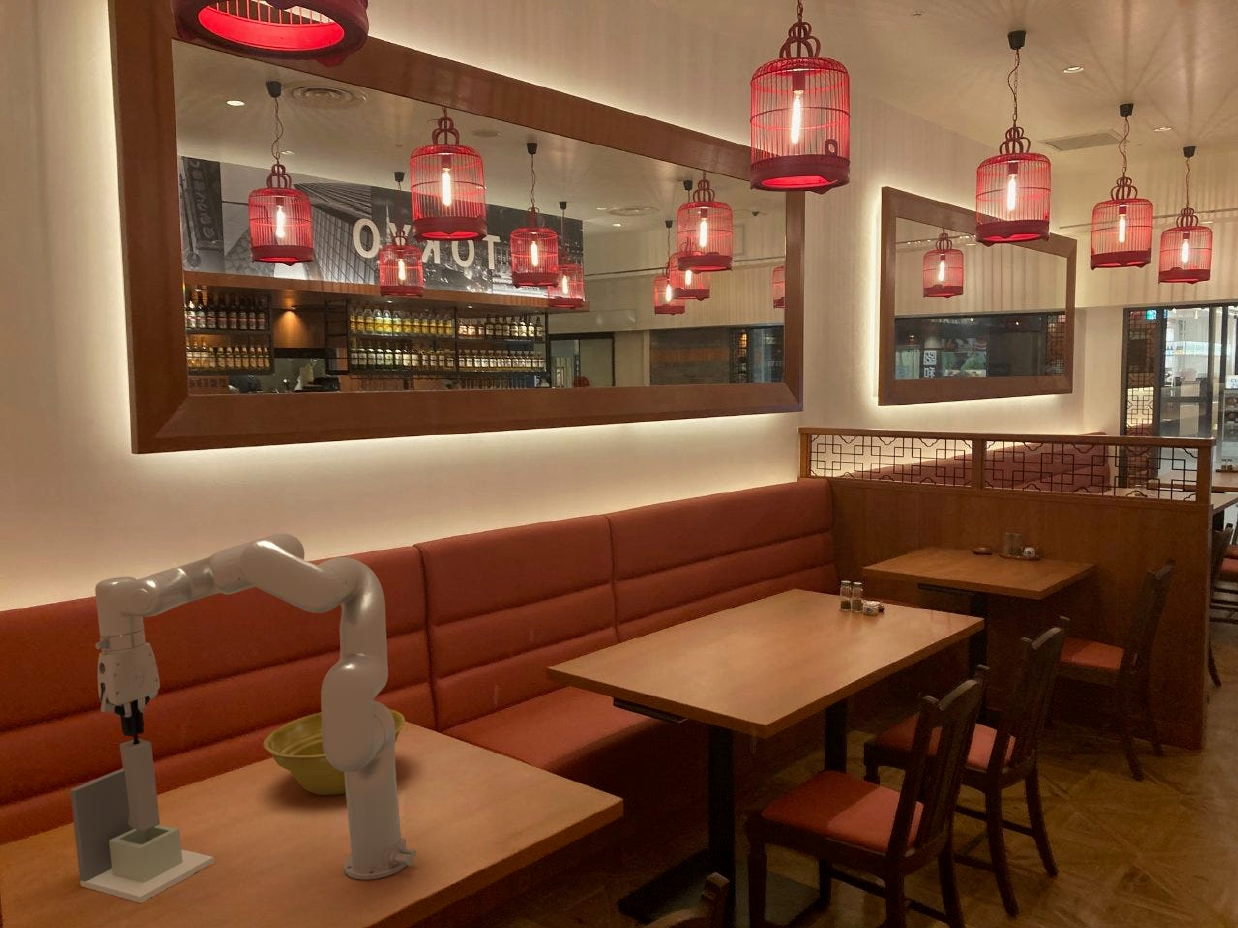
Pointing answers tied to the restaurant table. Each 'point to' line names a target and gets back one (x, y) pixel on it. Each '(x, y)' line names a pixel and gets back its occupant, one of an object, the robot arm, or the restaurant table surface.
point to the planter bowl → (311, 753)
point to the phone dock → (125, 845)
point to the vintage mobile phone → (140, 782)
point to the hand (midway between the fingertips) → (133, 733)
